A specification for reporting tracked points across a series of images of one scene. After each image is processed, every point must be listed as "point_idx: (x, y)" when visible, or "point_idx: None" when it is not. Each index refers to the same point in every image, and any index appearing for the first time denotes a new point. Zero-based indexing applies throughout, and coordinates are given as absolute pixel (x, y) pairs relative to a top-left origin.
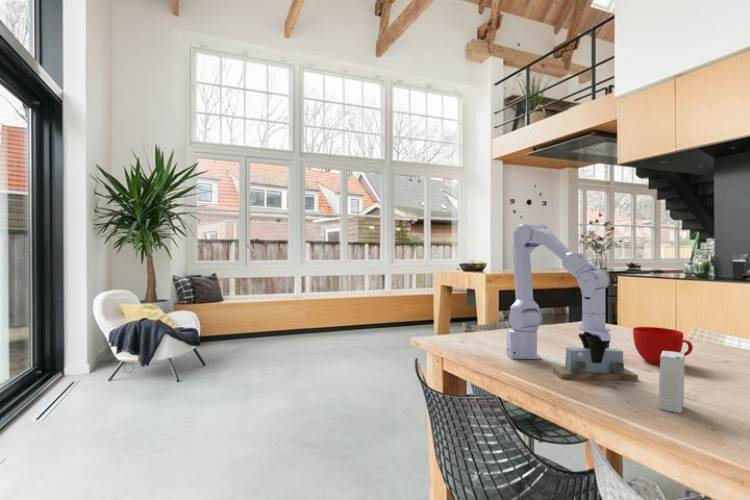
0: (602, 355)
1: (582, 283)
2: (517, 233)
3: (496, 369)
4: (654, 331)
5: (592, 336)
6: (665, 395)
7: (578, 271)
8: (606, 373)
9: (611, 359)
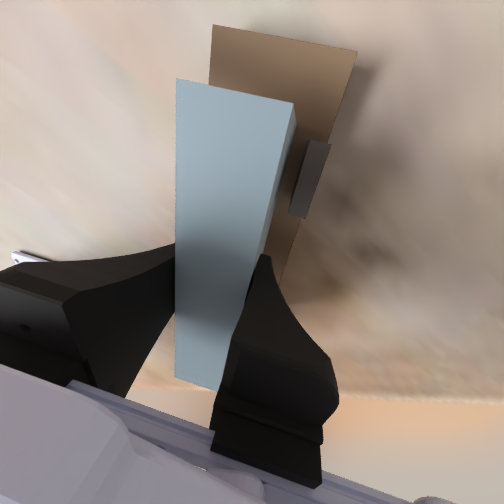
0: (274, 279)
1: None
2: None
3: (183, 388)
4: None
5: (107, 353)
6: None
7: None
8: (285, 218)
9: (272, 202)
